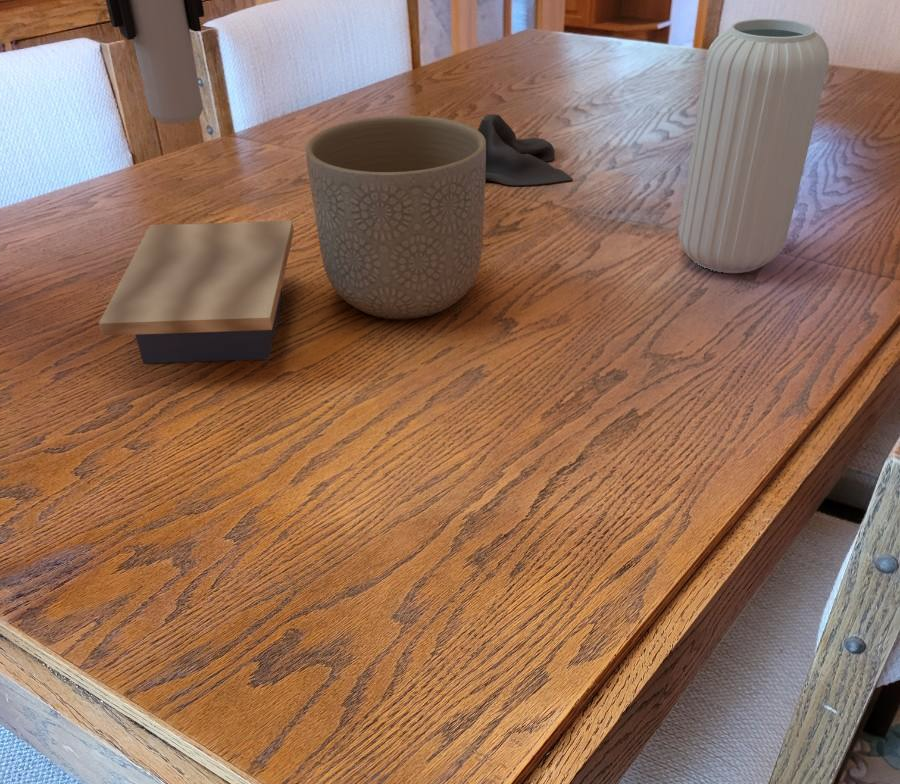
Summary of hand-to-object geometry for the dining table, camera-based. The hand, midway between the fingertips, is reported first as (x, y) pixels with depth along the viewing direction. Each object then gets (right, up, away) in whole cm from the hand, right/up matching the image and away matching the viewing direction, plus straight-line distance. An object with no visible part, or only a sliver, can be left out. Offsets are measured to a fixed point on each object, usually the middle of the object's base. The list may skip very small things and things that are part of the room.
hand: (160, 29), depth 77 cm
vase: (+56, -11, +24) cm, 61 cm away
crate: (+1, -21, +14) cm, 25 cm away
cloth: (+31, +11, +47) cm, 58 cm away
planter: (+20, -17, +18) cm, 32 cm away
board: (+1, -17, +11) cm, 21 cm away
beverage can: (0, -5, +5) cm, 7 cm away
